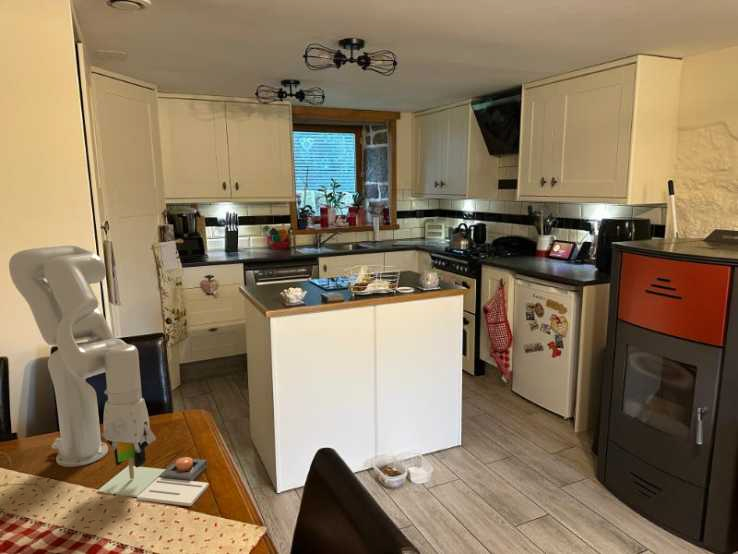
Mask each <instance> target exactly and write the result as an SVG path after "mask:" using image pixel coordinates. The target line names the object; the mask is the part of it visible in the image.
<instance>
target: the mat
mask: <svg viewBox="0 0 738 554" xmlns="http://www.w3.org/2000/svg"><path fill="white" fill-rule="evenodd" d="M133 469H134V478H133V479H130V474H129V465H127V466H126V467H125V468H123V469H122V470H121V471H120V472H119V473H117V474H116V475H115V476H113V477H112V478H111V479H110V480H109V481H107V482H106V483H105V484H104V485H102V486H101V487H100V488H98V489H97V490H96V493H97V492H107V493H113V494H117V495H116V496H123V497H130V498H131V497H132V498H137V496H138V495H139V494H141V493H142V492H143V491H144V490H145V489H146V488H147V487H148V486H149V485H150V484H152V483H153V482H154V481H155V480H156V479H157V478H161V477H162V472H164V471H165V470H166V469H167V468H166V469H165V468H155V467H146V466H139V467H135V465H133ZM113 494H112V495H113Z"/></svg>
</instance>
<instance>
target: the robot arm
mask: <svg viewBox="0 0 738 554" xmlns="http://www.w3.org/2000/svg"><path fill="white" fill-rule="evenodd" d="M8 268H9V269H8V271H9V274H10V278H11V281H12V283H13V284H14V286H15V288H16V289H17V291H18V293H20V295H21V296H22V297H23V299H24V300H25V302H26V303H27V304H28V306H29V309H30V311H31V313H32V316H33V318H34V322H35V323H36V325H37V328H38V330H39V332H40V335H41V337H42V339H43V341H45V343H46V344H47V345H48V346H55V347H56V346H57V350H55V351H54V352H53V353H51V355H50V356H49V357H48V359H47V367H48V371H49V373H50V374H49V375H50V377H51V380H52V384H53V388H54V393H55V400H56V401H55V402H56V409H57V417H58V424H59V425H58V426H59V427H58V428H59V434H60V435H59V436H60V437H56V438H55V439H54V441H53V443H51V449H54V450H55V449H56V450H58V454H57V455H56V457H55V458H56V459H55V460H56V464H57V465H59V466H61V467H66V468H75V467H81V466H86V465H89V464H92V463H95V462H96V461H98V460H100V459H102V458H104V456H106V455H107V453H108V451H109V446H108V445H107V443H108V444H109V445H110V446H111V450H113V451H114V460H115V466H120V465H121V464H122V463H124V462H125V461H126V460H124V461H121V462H119V461H118V455H117V444H116V442H125V443H134V446H135V449H136V452H135V453H134V458H133V459H134V466H135V467H142V465H143V464H144V463H145V462H146V448H147V447H148V446H149V445H150V444H152V442H154V441H155V440H156V439H157V437H156V435H155V433H154V432H152V430H151V429H150V428H151V426H150V425H151V424H150V417H149V413H148V408H147V405H146V402H145V401H146V400H145V398H143V396H142V395H143V394H142V384H141V371H140V358H139V351H138V348H137V347H136V346H135V345H134V344H129V343H126V342H125V341H124V340H122V339H121V338H117V337H116V338H115V337H114V335H113V334H112V331H111V329H110V327H109V324H108V321H107V319H106V318H105V316H104V314H103V312H102V311H101V310H100V309H99V308H98V307H99V300H98V298H97V296H96V294H95V292H94V291H93V289H92V287H91V284H92V285H93V284H97V283H101V282H103V280H104V279H105V278H106V275H107V271H106V266H105V264H104V261H103V260H102V259H101V257H100V256H99V255H98V254H96V253H95V252H93V251H90V250H88V249H85V248H82V247H80V246H76V245H61V246H60V245H59V246H49V247H36V248H29V249H23V250H19V251H17V252H15V253H14V254H13V255H12V256H11V257H10V259H9V262H8ZM84 340H86V342H81V341H84ZM77 342H81V343H77ZM103 373H105V379H106V380H105V381H106V389H105V390H104V393H103V394H104V395H106V396H107V400H106V401H105V403H104V408H103V424H102V425H103V431H102V432H101V429H100V428H101V426H100V417H99V407H98V399H97V392H96V390H95V388H94V387H93V386H92V385H91V384H90V383H88V382H87V381H86V380H87V378H88V379H89V378H91V377H93V376H97V375H100V374H103ZM101 437H102V438H103V439H105V441H107V443H105V442H102V438H101ZM139 442H140V443H141V445H140V443H139Z"/></svg>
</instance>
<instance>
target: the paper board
mask: <svg viewBox="0 0 738 554" xmlns="http://www.w3.org/2000/svg"><path fill="white" fill-rule="evenodd" d="M209 486H210V483H209V482H204V481H195V480H194V481H186V480H177V479H168V478H162V477H159V478H157V479H156V480H155V481H154V482H153V483H152V484H150V485H149V486H148V487H147V488H146V489H145V490H144V491H143V492H142V493H141V494H139V495H138V496H137V497H136V500H137V501H146V502H153V503H161V504H170V505H176V506H177V505H178V506H186V507H192V506H193V505H194V504H195V502H196V501H197V500H198V499H199V497H201V495H202V494H203V493H204V492H205V491H206V490H207V489H208V488H209Z"/></svg>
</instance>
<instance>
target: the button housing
mask: <svg viewBox="0 0 738 554" xmlns="http://www.w3.org/2000/svg"><path fill="white" fill-rule="evenodd" d="M180 458H181V457H180V456H179V457H177V459H175V460H174V461H173V462H172V463H171V464H170V465H169V466H168V467H167V468H166V470H165V471H164V472H162V475H161V478H168V479H177V480H186V481H195V480H196V479H197V478H198V477H199V476H200V475H201V474H202V473H203V472H204V471H205V470H206V468H207V467H208V463H207V459H201V458H199V459H198V458H192V462H193V468H192V469H191V470H189V471H186V472H180V471H177V469H176V461H177V460H178V459H180Z"/></svg>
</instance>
